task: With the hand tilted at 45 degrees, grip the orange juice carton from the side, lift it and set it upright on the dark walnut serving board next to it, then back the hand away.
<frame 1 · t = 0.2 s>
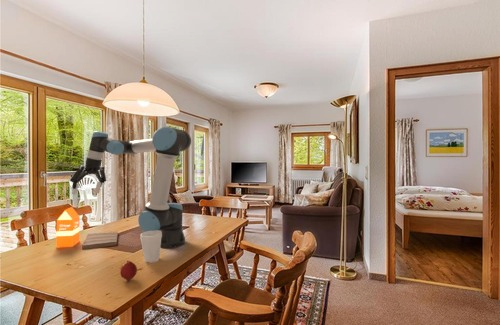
hand: (85, 193, 144), 28 cm above the table, tool tilted 15°, fingers open, 13 cm apart
walnut board: (101, 241, 144), on the table
orange juice: (68, 244, 138), on the table
onion: (128, 280, 98), on the table
foam cup: (152, 260, 119), on the table, touching arm
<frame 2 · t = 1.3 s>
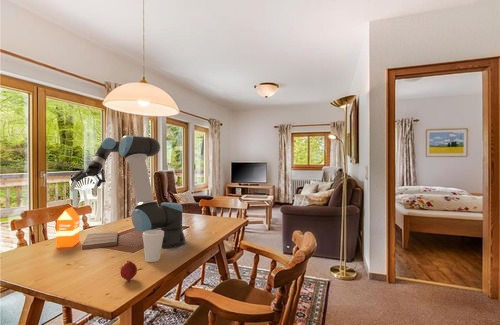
hand: (82, 190, 151), 28 cm above the table, tool tilted 45°, fingers open, 13 cm apart
foam cup: (152, 260, 119), on the table
everything else where it was.
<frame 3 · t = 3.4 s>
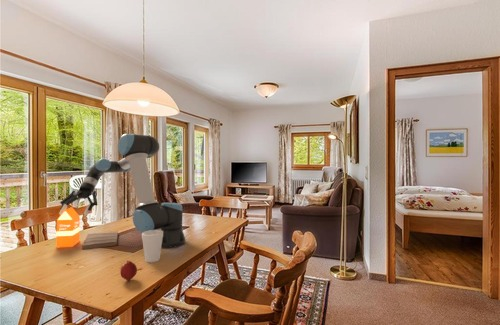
hand: (72, 214, 143), 15 cm above the table, tool tilted 45°, fingers open, 13 cm apart
nothing on the table moved.
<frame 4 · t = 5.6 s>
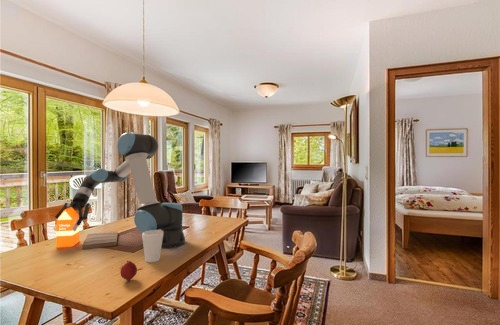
hand: (64, 230, 135), 9 cm above the table, tool tilted 45°, fingers closed on orange juice, 9 cm apart
orange juice: (68, 244, 138), on the table, touching gripper
everything else where it was.
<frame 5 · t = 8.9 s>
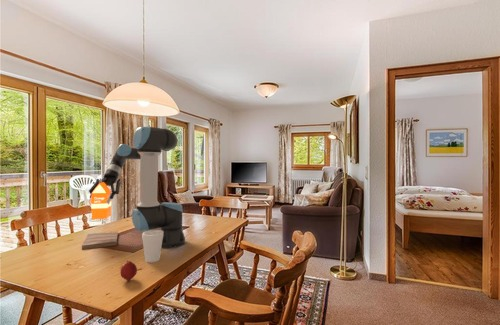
hand: (98, 203, 140), 23 cm above the table, tool tilted 45°, fingers closed on orange juice, 9 cm apart
orange juice: (101, 217, 144), point 14 cm above the table, touching gripper
everything else where it was.
when the fingers open (12 cm above the table, at t = 12.2 s): orange juice drops 1 cm, resting on walnut board.
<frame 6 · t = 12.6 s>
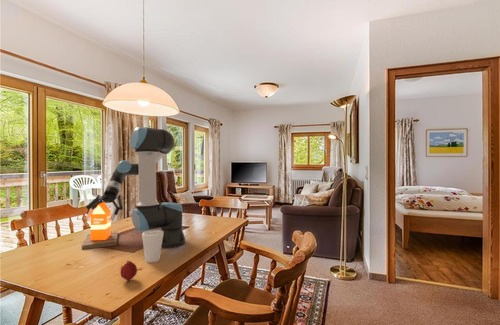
hand: (99, 219, 142), 13 cm above the table, tool tilted 45°, fingers open, 13 cm apart
orange juice: (100, 237, 144), point 2 cm above the table, touching walnut board
everything else where it was.
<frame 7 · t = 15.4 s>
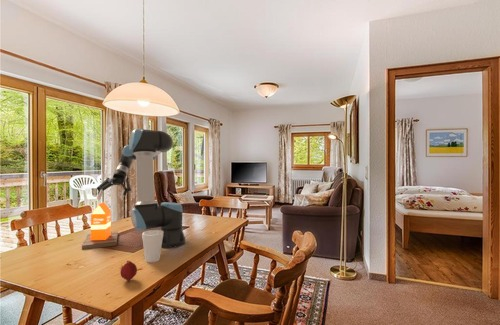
hand: (109, 199, 153), 23 cm above the table, tool tilted 45°, fingers open, 13 cm apart
nothing on the table moved.
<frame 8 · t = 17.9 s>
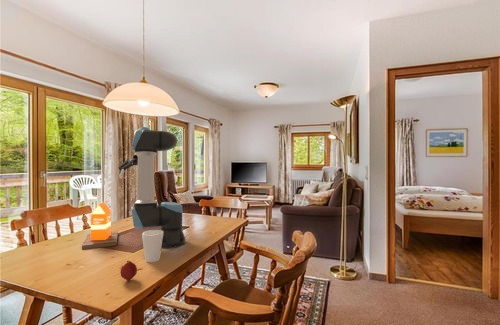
hand: (131, 177, 161), 36 cm above the table, tool tilted 45°, fingers open, 13 cm apart
nothing on the table moved.
at the end: orange juice inside the target area on the walnut board (0.4 cm from its centre), point 1.8 cm above the walnut board's base; orange juice tilted 0°; the gripper is holding nothing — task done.
